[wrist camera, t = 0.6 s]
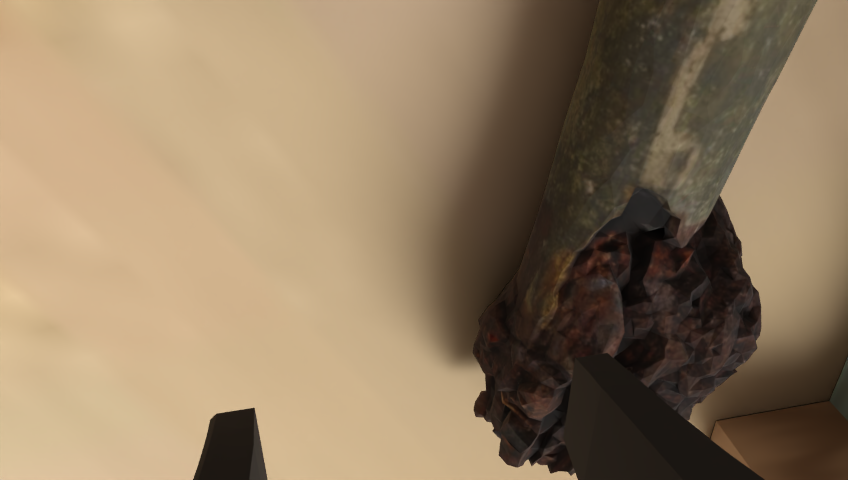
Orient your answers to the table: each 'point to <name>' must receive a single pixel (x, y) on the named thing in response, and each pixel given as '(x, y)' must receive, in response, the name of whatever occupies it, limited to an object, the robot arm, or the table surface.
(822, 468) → the dock
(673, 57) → the metal pipe
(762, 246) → the table surface
